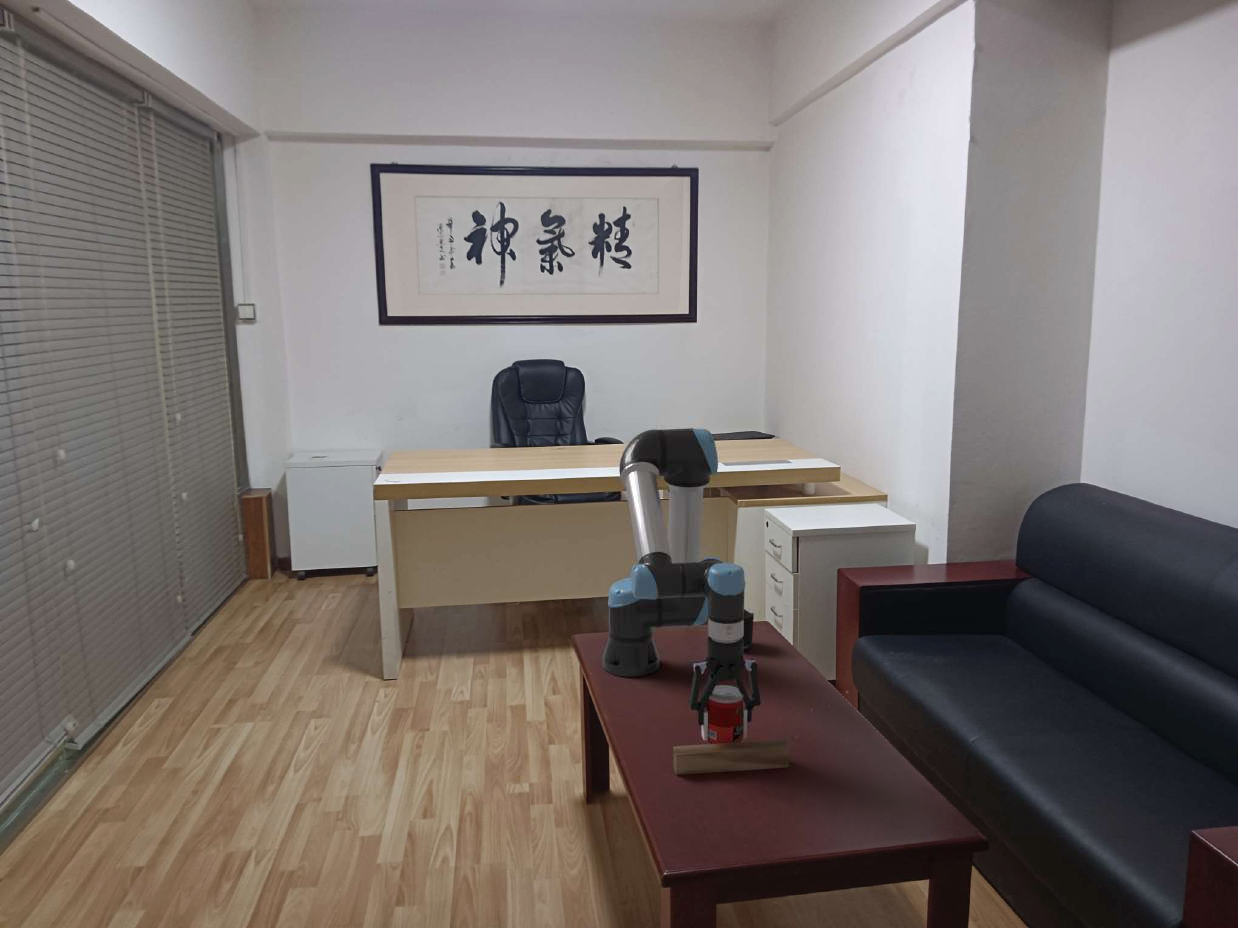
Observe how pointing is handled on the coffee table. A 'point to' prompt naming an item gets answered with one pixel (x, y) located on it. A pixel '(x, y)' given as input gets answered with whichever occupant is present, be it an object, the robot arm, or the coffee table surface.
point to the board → (730, 756)
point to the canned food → (725, 715)
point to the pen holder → (747, 630)
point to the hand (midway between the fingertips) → (724, 736)
